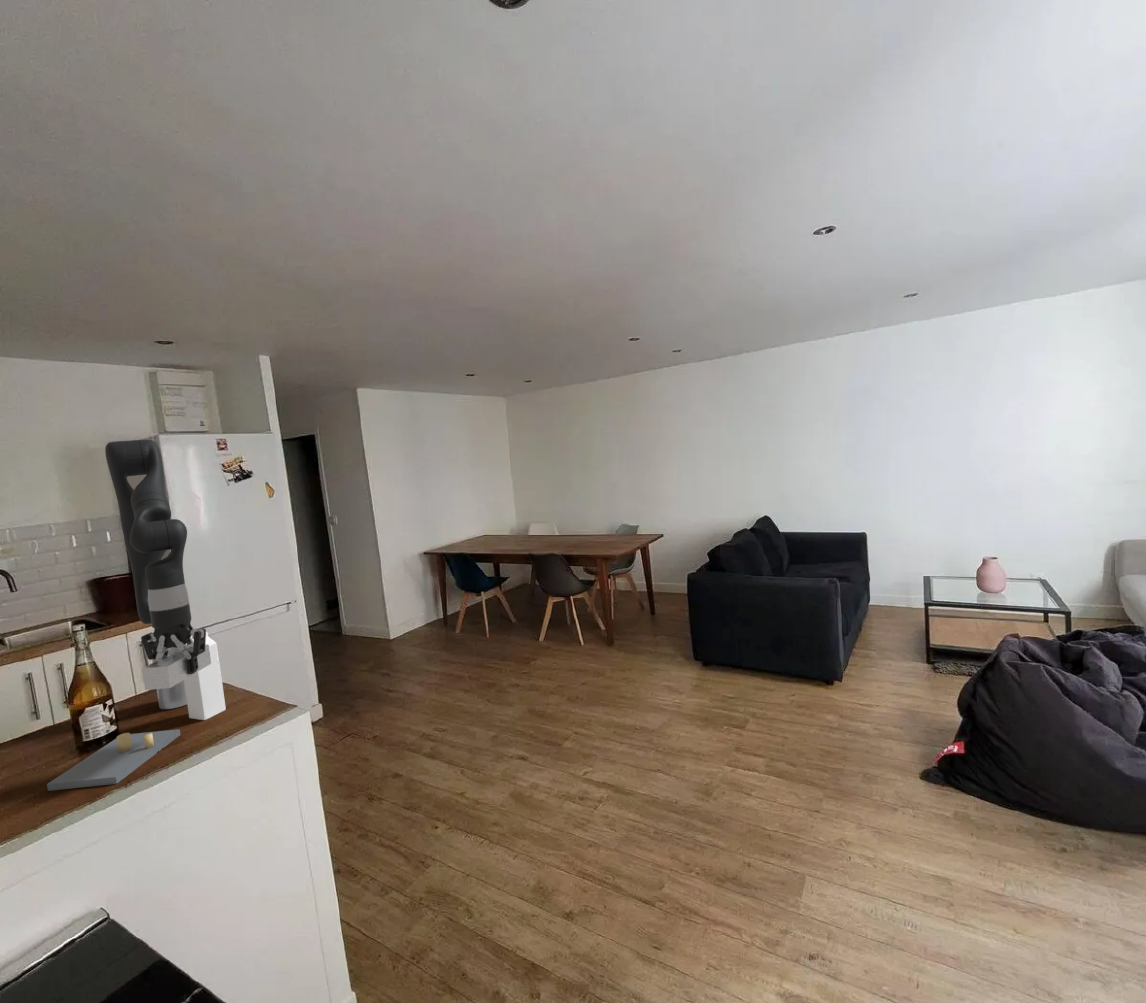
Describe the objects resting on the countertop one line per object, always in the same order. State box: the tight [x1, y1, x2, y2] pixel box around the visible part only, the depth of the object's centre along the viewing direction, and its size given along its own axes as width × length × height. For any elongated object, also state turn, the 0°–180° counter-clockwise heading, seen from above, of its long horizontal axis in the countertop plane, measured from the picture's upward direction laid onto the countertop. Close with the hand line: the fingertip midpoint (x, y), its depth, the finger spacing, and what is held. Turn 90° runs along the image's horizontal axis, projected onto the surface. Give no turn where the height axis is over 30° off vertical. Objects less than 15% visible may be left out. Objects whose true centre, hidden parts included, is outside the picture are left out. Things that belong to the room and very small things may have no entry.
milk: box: [184, 631, 227, 721], centre depth 143 cm, size 6×6×22 cm
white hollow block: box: [141, 644, 211, 691], centre depth 127 cm, size 14×6×5 cm, turn 1°
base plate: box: [46, 728, 181, 791], centre depth 123 cm, size 20×14×5 cm
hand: (179, 673), depth 127 cm, fingers closed on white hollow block, 5 cm apart
